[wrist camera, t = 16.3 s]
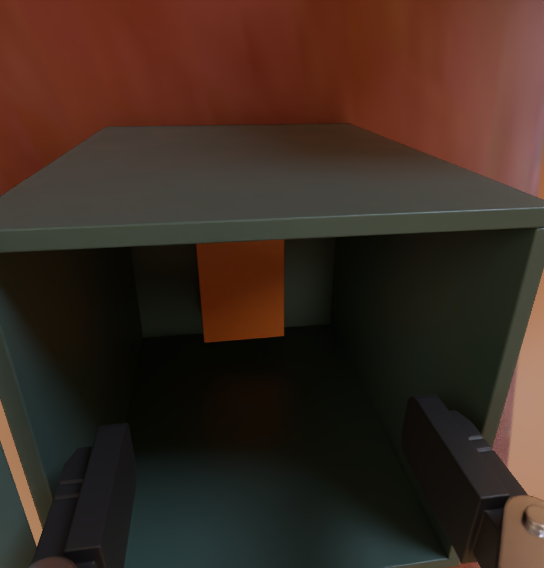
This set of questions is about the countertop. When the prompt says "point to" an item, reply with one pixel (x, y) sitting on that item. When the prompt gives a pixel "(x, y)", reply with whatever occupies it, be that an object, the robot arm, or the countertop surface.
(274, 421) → the dark green open box
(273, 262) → the orange rectangular block
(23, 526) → the flap
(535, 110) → the countertop surface
